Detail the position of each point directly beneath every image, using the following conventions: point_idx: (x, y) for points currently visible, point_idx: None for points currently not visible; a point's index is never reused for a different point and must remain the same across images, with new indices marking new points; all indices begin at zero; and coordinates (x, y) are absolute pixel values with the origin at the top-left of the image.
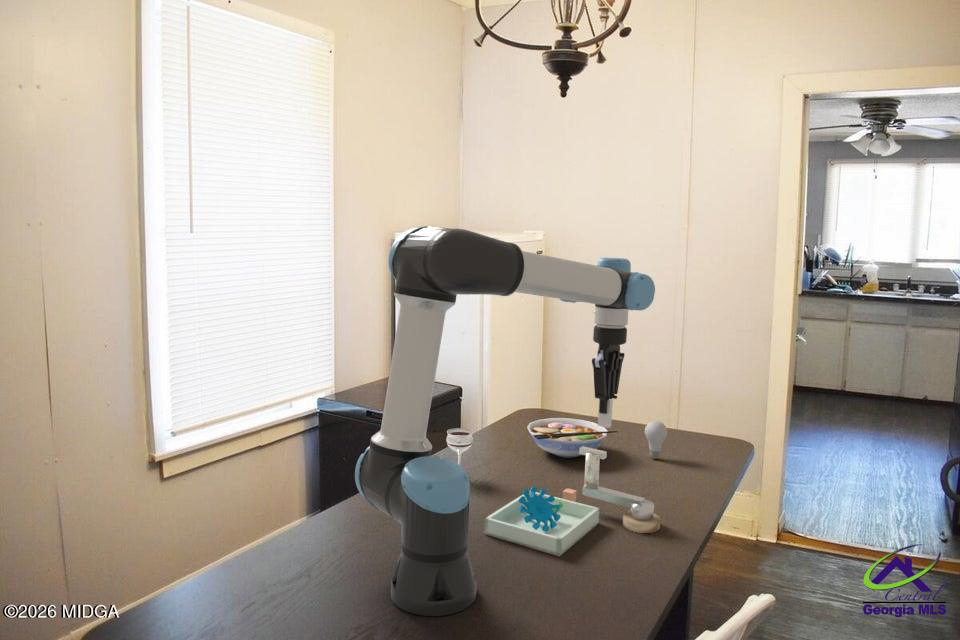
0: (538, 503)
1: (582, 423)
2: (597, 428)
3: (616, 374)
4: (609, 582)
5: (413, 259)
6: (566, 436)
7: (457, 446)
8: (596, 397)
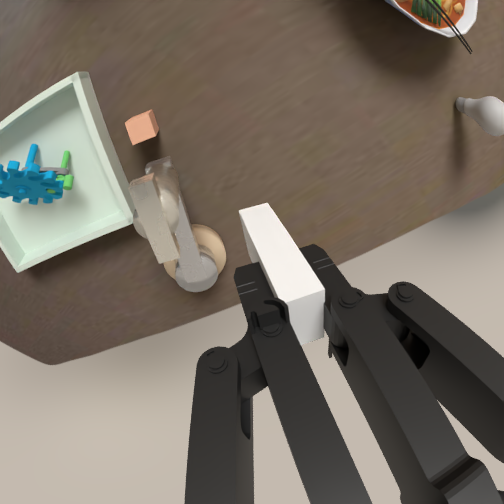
0: (18, 187)
1: None
2: (469, 8)
3: (457, 407)
4: (53, 320)
5: None
6: None
7: None
8: (212, 352)
